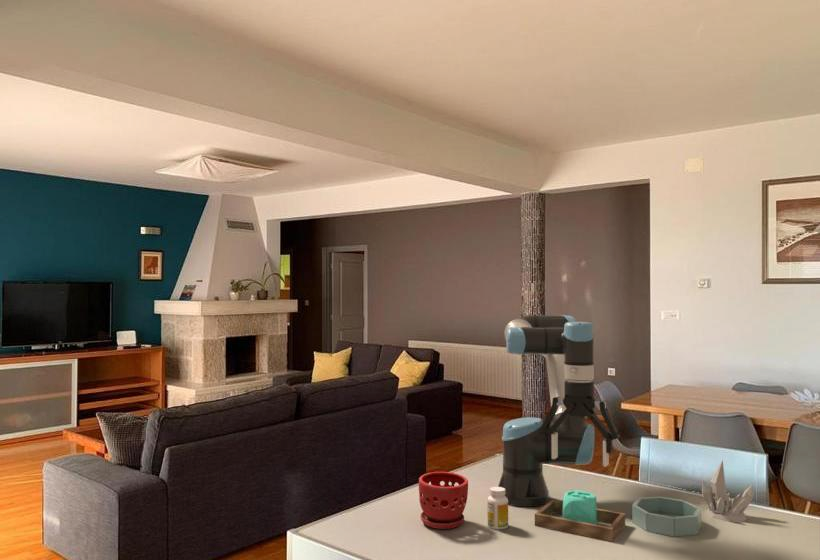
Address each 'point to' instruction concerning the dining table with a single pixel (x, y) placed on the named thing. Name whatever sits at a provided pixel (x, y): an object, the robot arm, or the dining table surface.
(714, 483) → the crystal
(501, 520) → the supplement bottle
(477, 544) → the dining table surface
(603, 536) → the rectangular frame
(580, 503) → the decorative dice
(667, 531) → the bowl
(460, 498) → the plant pot
